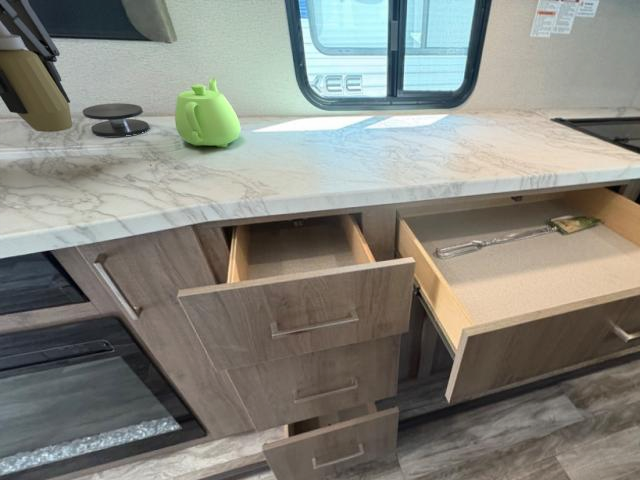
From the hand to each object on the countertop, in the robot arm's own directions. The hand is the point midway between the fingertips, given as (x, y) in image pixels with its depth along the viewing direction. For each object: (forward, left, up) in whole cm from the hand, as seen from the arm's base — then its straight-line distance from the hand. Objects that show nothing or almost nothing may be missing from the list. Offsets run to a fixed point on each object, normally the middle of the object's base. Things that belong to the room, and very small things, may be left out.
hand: (41, 106), depth 63 cm
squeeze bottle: (0, 0, -4) cm, 4 cm away
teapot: (+13, +29, -13) cm, 34 cm away
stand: (-13, +27, -13) cm, 32 cm away
